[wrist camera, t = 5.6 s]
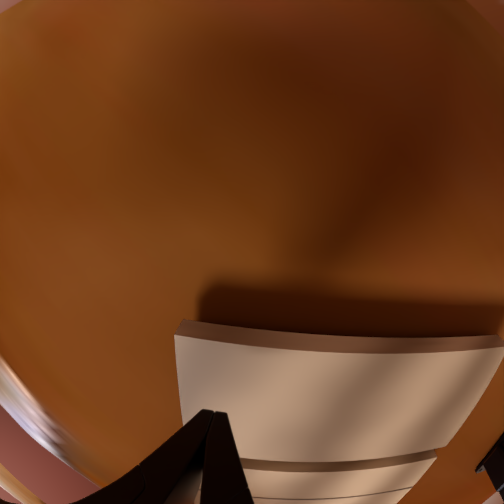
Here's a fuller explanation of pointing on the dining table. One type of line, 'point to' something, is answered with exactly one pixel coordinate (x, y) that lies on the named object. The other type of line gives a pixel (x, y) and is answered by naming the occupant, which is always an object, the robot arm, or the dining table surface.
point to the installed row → (334, 480)
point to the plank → (332, 389)
